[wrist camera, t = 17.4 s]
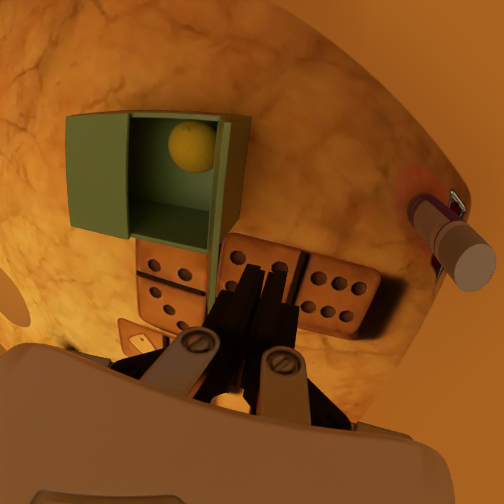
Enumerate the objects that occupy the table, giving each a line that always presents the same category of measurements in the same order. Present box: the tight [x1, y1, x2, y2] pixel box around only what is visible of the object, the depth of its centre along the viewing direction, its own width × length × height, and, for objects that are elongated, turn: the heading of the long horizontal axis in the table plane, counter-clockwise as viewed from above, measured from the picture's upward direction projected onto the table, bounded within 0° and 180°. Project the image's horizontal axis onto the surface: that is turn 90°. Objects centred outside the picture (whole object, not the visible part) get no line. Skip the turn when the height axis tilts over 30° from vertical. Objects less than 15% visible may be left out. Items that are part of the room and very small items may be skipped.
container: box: [407, 193, 496, 292], centre depth 25 cm, size 5×5×15 cm
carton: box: [65, 110, 251, 254], centre depth 31 cm, size 18×13×11 cm
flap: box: [207, 117, 231, 314], centre depth 21 cm, size 9×13×1 cm
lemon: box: [168, 119, 217, 173], centre depth 30 cm, size 6×6×8 cm
